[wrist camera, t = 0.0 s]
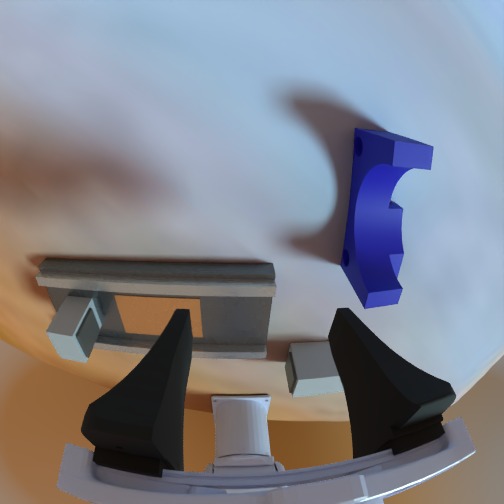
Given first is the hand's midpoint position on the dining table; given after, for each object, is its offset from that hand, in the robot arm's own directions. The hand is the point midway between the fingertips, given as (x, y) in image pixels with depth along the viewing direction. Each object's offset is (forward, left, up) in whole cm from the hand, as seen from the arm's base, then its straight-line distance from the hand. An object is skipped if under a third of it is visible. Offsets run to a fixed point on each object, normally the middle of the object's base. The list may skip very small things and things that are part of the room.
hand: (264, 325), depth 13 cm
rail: (-8, +9, -10) cm, 16 cm away
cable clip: (+3, -10, -10) cm, 15 cm away
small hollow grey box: (-8, +16, -9) cm, 20 cm away
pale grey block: (-15, -8, -10) cm, 20 cm away
